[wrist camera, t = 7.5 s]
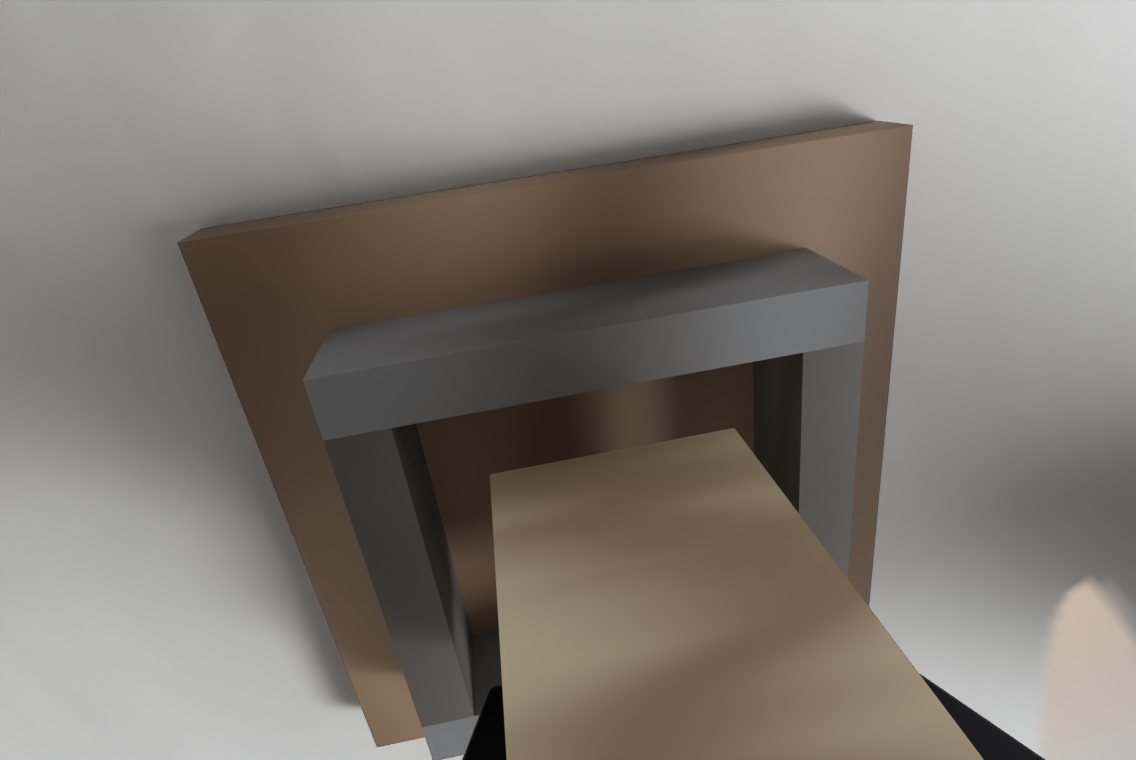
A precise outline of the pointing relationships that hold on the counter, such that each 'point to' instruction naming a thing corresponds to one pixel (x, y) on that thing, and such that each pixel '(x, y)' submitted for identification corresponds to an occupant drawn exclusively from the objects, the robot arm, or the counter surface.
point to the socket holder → (552, 370)
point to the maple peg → (690, 619)
